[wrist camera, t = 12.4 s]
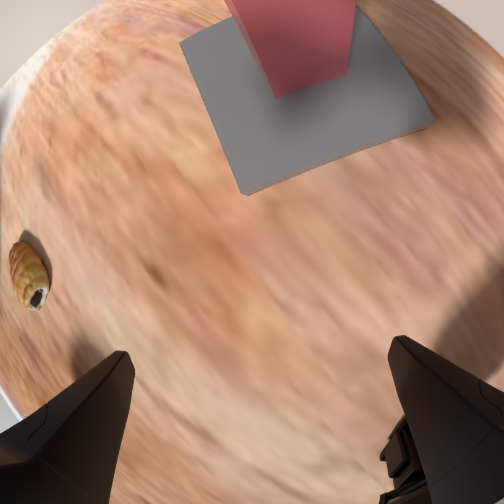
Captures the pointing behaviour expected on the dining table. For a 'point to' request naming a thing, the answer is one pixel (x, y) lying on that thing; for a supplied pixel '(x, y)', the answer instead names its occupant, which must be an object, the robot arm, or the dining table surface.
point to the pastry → (28, 276)
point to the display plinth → (301, 105)
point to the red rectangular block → (296, 39)
